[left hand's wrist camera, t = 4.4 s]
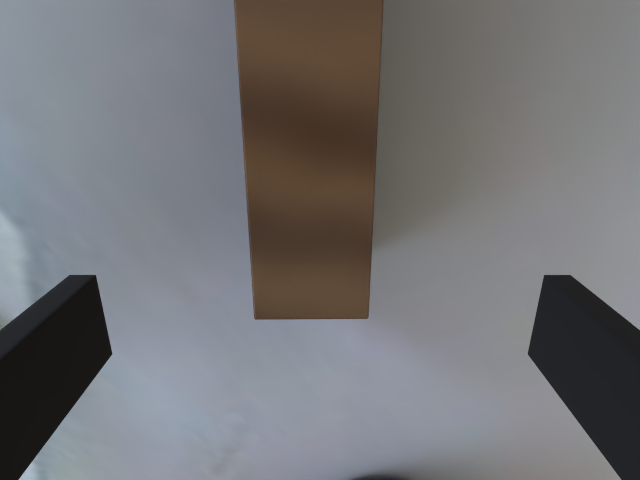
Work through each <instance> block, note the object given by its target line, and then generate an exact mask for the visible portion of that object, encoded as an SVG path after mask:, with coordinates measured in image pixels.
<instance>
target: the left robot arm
mask: <svg viewBox="0 0 640 480" xmlns="http://www.w3.org/2000/svg"><path fill="white" fill-rule="evenodd" d="M111 355H112V351H111V346H110V341H109V336H108V331H107V327H106V322H105V317H104V312H103V307H102V303H101V298H100V293H99V288H98V284H97V279H96V275H69V276H68V277H67V278H65V279H64V280H63V281H62V282H60V283H59V284H58V285H57V286H55V287H54V288H53V289H52V290H50V291H49V292H48V293H47V294H45V295H44V296H43V297H42V298H40V299H39V300H38V301H36V302H35V303H34V304H33V305H31V306H30V307H29V308H28V309H26V310H25V311H24V312H23V313H21V314H20V315H19V316H18V317H16V318H15V319H14V320H13V321H11V322H10V323H9V324H8V325H6V326H5V327H4V328H3V329H1V330H0V480H19V478H20V477H21V476H22V474H23V473H24V471H25V470H26V469H27V467H28V466H29V465H30V463H31V462H32V461H33V459H34V458H35V457H36V455H37V454H38V453H39V451H40V450H41V449H42V447H43V446H44V445H45V443H46V442H47V441H48V439H49V438H50V437H51V435H52V434H53V433H54V431H55V430H56V429H57V427H58V426H59V425H60V423H61V422H62V421H63V419H64V418H65V417H66V415H67V414H68V413H69V411H70V410H71V409H72V407H73V406H74V405H75V403H76V402H77V401H78V399H79V398H80V397H81V395H82V394H83V393H84V391H85V390H86V388H87V387H88V386H89V384H90V383H91V382H92V380H93V379H94V378H95V376H96V375H97V374H98V372H99V371H100V370H101V368H102V367H103V366H104V364H105V363H106V362H107V360H108V359H109V358H110V356H111ZM528 355H529V356H530V358H531V359H532V360H533V362H534V363H535V364H536V366H537V367H538V368H539V370H540V371H541V372H542V374H543V375H544V376H545V378H546V379H547V380H548V382H549V383H550V384H551V386H552V387H553V388H554V390H555V391H556V393H557V394H558V395H559V397H560V398H561V399H562V401H563V402H564V403H565V405H566V406H567V407H568V409H569V410H570V411H571V413H572V414H573V415H574V417H575V418H576V419H577V421H578V422H579V423H580V425H581V426H582V427H583V429H584V430H585V431H586V433H587V434H588V435H589V437H590V438H591V439H592V441H593V442H594V443H595V445H596V446H597V447H598V449H599V450H600V451H601V453H602V454H603V455H604V457H605V458H606V459H607V461H608V462H609V463H610V465H611V466H612V467H613V469H614V470H615V471H616V473H617V474H618V476H619V477H620V478H621V480H640V330H639V329H637V328H636V327H635V326H634V325H632V324H631V323H630V322H629V321H627V320H626V319H625V318H624V317H622V316H621V315H620V314H619V313H617V312H616V311H615V310H614V309H612V308H611V307H610V306H609V305H607V304H606V303H605V302H604V301H602V300H601V299H600V298H598V297H597V296H596V295H595V294H593V293H592V292H591V291H590V290H588V289H587V288H586V287H585V286H583V285H582V284H581V283H580V282H578V281H577V280H576V279H575V278H573V277H572V276H571V275H544V279H543V284H542V288H541V293H540V298H539V303H538V307H537V312H536V317H535V322H534V327H533V331H532V336H531V341H530V346H529V351H528Z"/></svg>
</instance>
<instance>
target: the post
mask: <svg viewBox="0 0 640 480" xmlns="http://www.w3.org/2000/svg"><path fill="white" fill-rule="evenodd" d="M234 9H235V24H236V40H237V56H238V71H239V87H240V102H241V118H242V134H243V149H244V165H245V181H246V196H247V212H248V227H249V243H250V259H251V274H252V290H253V305H254V318H255V319H367V318H368V317H369V296H370V275H371V254H372V233H373V212H374V190H375V169H376V148H377V127H378V106H379V85H380V63H381V42H382V21H383V0H234Z"/></svg>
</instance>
